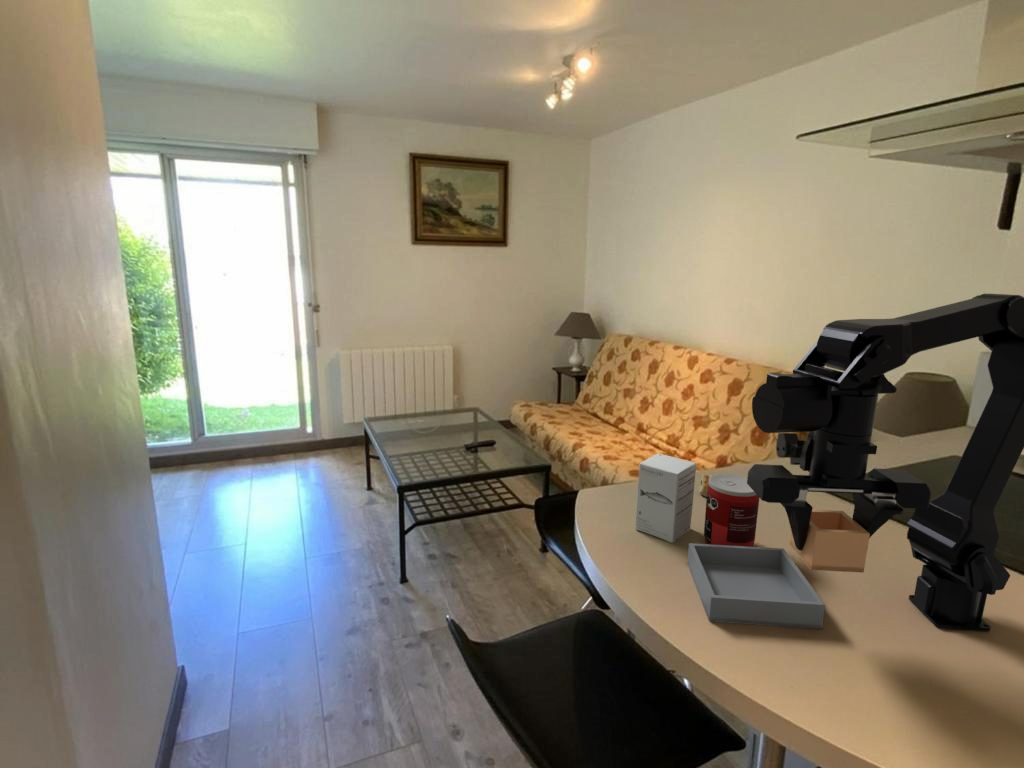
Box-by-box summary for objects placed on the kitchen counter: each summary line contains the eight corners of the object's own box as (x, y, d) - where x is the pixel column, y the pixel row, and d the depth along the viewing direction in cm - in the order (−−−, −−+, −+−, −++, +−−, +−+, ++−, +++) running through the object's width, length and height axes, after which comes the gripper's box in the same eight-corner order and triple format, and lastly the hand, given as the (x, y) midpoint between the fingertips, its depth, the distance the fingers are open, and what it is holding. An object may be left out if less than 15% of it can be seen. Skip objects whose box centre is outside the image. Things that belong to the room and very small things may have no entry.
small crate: (837, 546, 70) (843, 510, 69) (863, 572, 64) (869, 533, 63) (789, 544, 70) (794, 508, 69) (810, 569, 64) (816, 531, 63)
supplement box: (633, 530, 95) (637, 462, 92) (654, 516, 100) (658, 451, 98) (672, 544, 90) (677, 473, 87) (692, 529, 95) (697, 461, 93)
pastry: (746, 491, 112) (748, 474, 111) (749, 505, 105) (751, 487, 104) (698, 486, 114) (700, 469, 114) (699, 499, 108) (700, 481, 107)
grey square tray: (781, 569, 83) (783, 548, 82) (821, 629, 69) (825, 605, 68) (687, 563, 84) (689, 543, 84) (709, 621, 71) (711, 597, 70)
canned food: (712, 528, 96) (717, 470, 93) (759, 543, 91) (766, 481, 88) (695, 545, 90) (701, 483, 87) (745, 562, 85) (752, 497, 83)
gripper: (885, 413, 71) (867, 523, 74) (738, 409, 72) (727, 517, 75) (945, 440, 60) (921, 567, 63) (771, 434, 61) (756, 559, 64)
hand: (825, 549), depth 67 cm, fingers closed on small crate, 6 cm apart
